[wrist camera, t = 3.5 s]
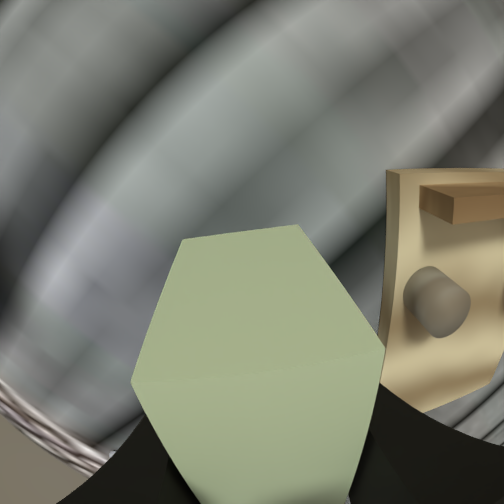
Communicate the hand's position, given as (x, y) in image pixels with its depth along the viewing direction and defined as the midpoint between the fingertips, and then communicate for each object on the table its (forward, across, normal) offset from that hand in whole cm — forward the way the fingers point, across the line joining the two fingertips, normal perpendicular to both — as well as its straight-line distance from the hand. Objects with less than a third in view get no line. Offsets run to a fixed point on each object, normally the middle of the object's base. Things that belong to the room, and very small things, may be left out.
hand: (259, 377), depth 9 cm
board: (+5, -12, +3) cm, 13 cm away
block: (+2, 0, 0) cm, 2 cm away
